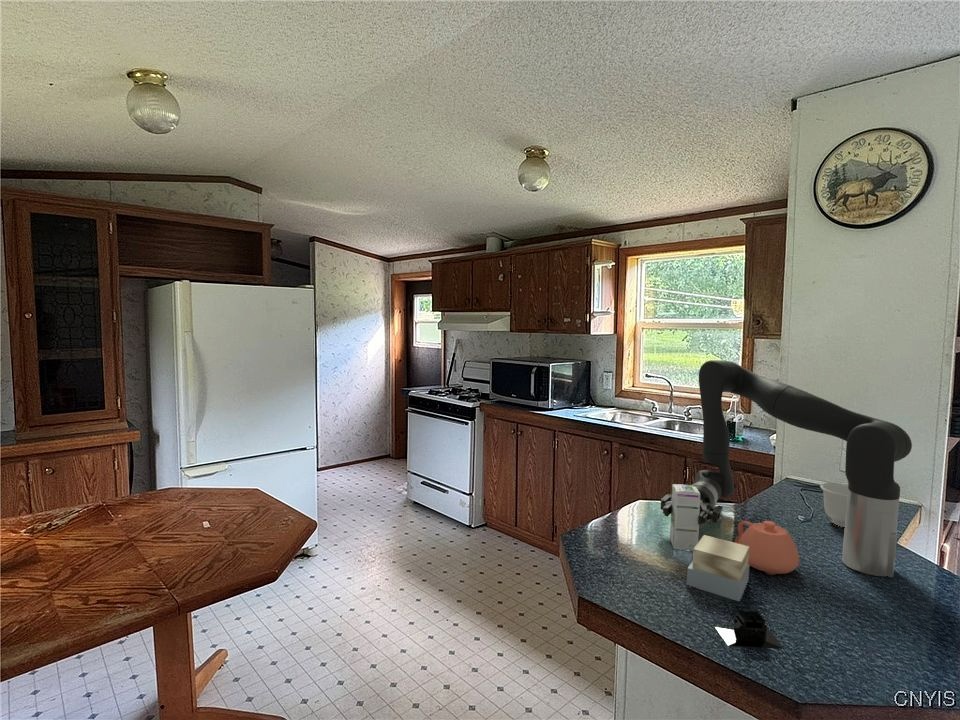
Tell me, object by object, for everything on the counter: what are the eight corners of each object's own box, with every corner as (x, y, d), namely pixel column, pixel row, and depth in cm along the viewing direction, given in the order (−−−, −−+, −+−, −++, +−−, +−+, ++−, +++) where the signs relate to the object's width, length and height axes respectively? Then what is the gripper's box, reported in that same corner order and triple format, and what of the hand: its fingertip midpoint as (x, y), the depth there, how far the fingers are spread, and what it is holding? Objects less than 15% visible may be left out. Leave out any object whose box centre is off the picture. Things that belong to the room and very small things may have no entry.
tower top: (748, 564, 108) (749, 546, 108) (740, 581, 101) (741, 562, 100) (702, 552, 113) (704, 534, 113) (692, 567, 106) (693, 548, 106)
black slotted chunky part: (720, 651, 85) (722, 625, 85) (704, 625, 93) (705, 601, 92) (797, 656, 85) (799, 630, 84) (774, 629, 92) (776, 605, 92)
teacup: (867, 519, 145) (870, 485, 145) (873, 537, 133) (876, 500, 132) (816, 510, 152) (819, 477, 151) (817, 526, 139) (820, 490, 138)
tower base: (748, 583, 108) (749, 565, 108) (739, 603, 100) (740, 583, 100) (698, 568, 114) (699, 551, 114) (686, 586, 106) (687, 568, 106)
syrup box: (698, 552, 121) (702, 492, 120) (672, 549, 123) (675, 490, 121) (693, 542, 127) (697, 485, 126) (668, 539, 128) (671, 483, 127)
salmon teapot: (776, 584, 107) (779, 537, 106) (717, 556, 120) (720, 514, 119) (810, 572, 113) (813, 527, 112) (751, 547, 125) (754, 506, 124)
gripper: (673, 479, 140) (653, 494, 126) (730, 490, 131) (715, 508, 118) (671, 505, 140) (651, 523, 127) (728, 518, 132) (713, 539, 118)
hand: (682, 516), depth 122 cm, fingers closed on syrup box, 7 cm apart
